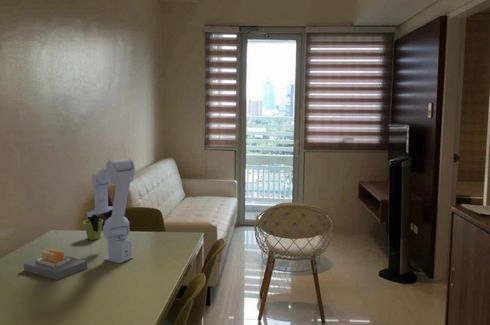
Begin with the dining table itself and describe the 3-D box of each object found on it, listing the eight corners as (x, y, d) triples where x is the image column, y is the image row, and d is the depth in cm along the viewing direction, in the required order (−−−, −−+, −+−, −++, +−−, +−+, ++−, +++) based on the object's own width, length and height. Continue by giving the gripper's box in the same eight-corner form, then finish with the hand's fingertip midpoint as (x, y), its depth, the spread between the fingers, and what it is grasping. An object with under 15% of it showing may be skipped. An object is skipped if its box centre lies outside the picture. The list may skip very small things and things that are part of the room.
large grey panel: (87, 268, 174) (86, 258, 173) (56, 280, 162) (56, 269, 161) (55, 260, 184) (54, 250, 183) (24, 270, 172) (23, 260, 171)
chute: (64, 261, 173) (63, 252, 172) (55, 264, 169) (54, 254, 169) (51, 258, 177) (50, 248, 176) (42, 261, 174) (41, 251, 173)
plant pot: (100, 241, 210) (99, 223, 209) (80, 241, 211) (79, 223, 210) (106, 235, 220) (105, 218, 219) (88, 235, 220) (87, 219, 219)
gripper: (107, 196, 203) (108, 224, 205) (81, 201, 191) (83, 231, 192) (118, 197, 200) (119, 226, 201) (92, 203, 187) (94, 234, 189)
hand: (102, 229), depth 196 cm, fingers open, 7 cm apart
